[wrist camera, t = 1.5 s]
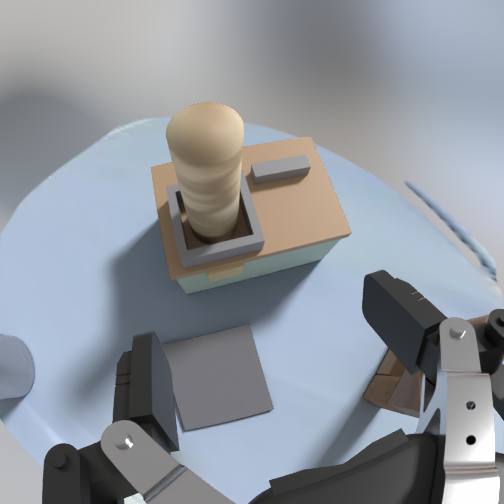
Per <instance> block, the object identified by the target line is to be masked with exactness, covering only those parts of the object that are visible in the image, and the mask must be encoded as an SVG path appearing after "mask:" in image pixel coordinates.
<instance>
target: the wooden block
mask: <svg viewBox="0 0 504 504" xmlns="http://www.w3.org/2000/svg"><path fill="white" fill-rule="evenodd" d="M488 317H489V315H485V316H482V317H478V318H473V319H469V320H466V321H468V322H469V323H470V324H471V325H475V324H480V323H485V322H487V320H488ZM377 374H378V375H375V376H374V378H373V380H372V381H371V383H370V385H369V387H368V388H367V390H366V392H365V394H364V395H363V397H364V399H366V400H368V401H369V402H371V403H373V404H375V405H377V406H378V407H380V408H384V409H387V410H391V411H394V412H398V413H401V414H407V415H409V416H413V417H417V418H419V417H420V407H421V393H422V379H423V375H424V373H423V372H422V371H419V372H417V373H415V374H413V375H410V374H409V372H408V371H407V370H406V369H405V367H404V366H403V365H402V364H401V362H400V361H399V360H398V359H397V357H396V356H395V355H394V354H393V352H392V351H391V350H390V349H389V350H388V352H387V354H386V356H385V358H384V360H383V362H382V364H381V365H380V367H379V369H378V371H377Z"/></svg>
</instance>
